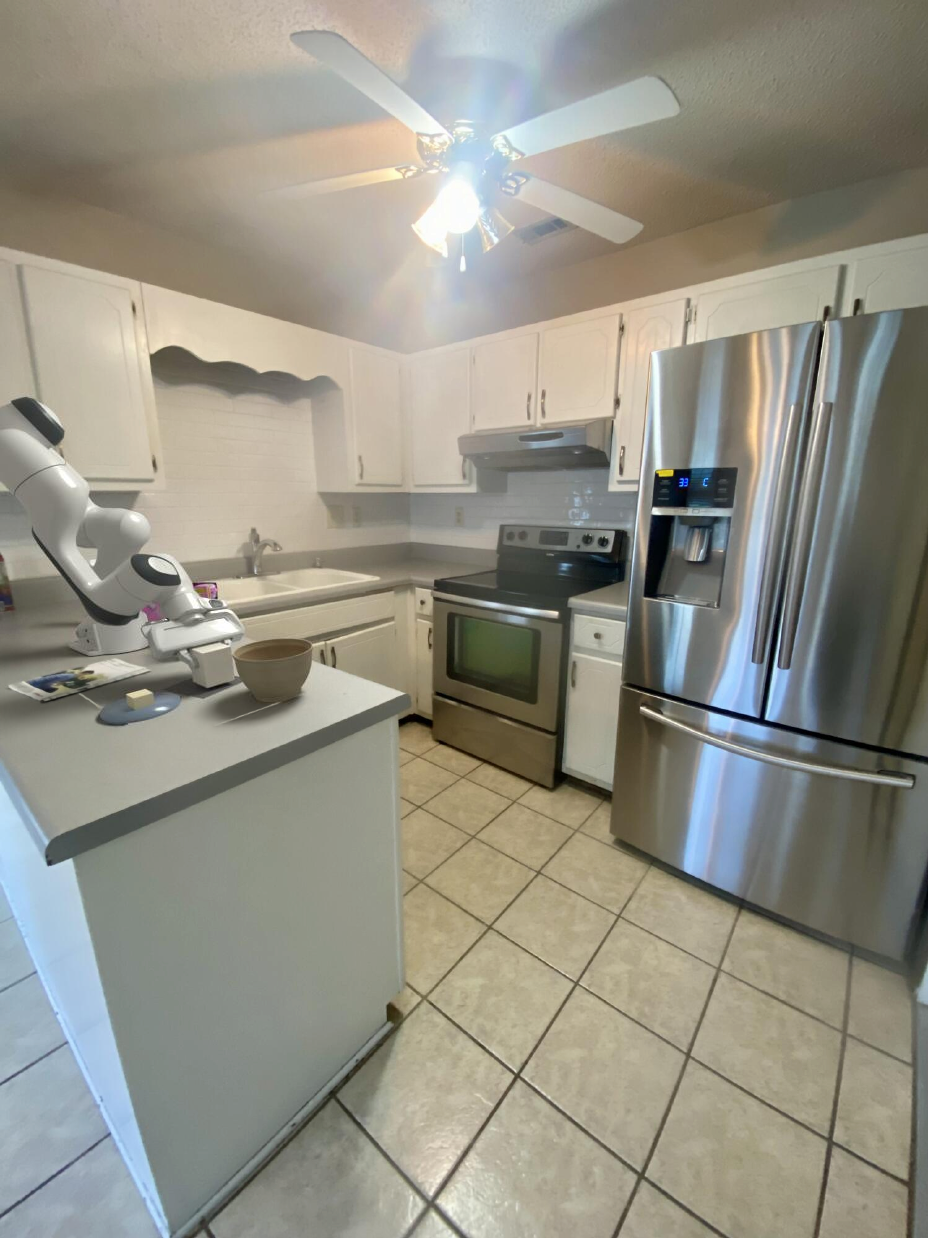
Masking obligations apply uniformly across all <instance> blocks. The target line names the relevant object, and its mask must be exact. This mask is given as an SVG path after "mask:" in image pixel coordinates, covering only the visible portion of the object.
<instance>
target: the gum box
mask: <svg viewBox="0 0 928 1238" xmlns="http://www.w3.org/2000/svg"><path fill="white" fill-rule="evenodd" d="M192 584H193V588H194V590H195V591H196V592H197V593H198V594H199V596H200V597H203V598H208V599H218V600H219V596H218V595H219V593H218V591H219V590H218V584H217V582H215V581H210V582H209V581H207V582H206V581H205V582H204V581H202V582H201V581H200V582H198V581H197V582H192ZM142 612H144V613H145V614H146V616H147V620H148V621H156V620H159V619H164V617H163V615H162V613H161V611H160V606H159V603H158V602H157V601H154V600H153V601H152V602H151V603H150V604H148V605H147V606H146V607H145V608H143V609H142Z"/></svg>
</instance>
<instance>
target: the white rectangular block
mask: <svg viewBox="0 0 928 1238" xmlns="http://www.w3.org/2000/svg"><path fill="white" fill-rule="evenodd" d="M188 649H189V656H190V657H191V658H192V659H195V658H197V660H198V661H197V662H199V667H198V668H196V669H193V670H191V676H192V677H191V678H193V682H195V683H197V684H199V685H202V686H204V687H206V688H209V687H212V686H216V685H219V684H222V683H225V682H229V681H232V680H235V677H234V676H235V669H234V659H233V658H232V653H233V652H232V645H231V646H228V645H225V644H222V643H219V642H217V641H216V642H212V643H208V644H204V645H199V646H195V647H191V648H188Z"/></svg>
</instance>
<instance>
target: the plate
mask: <svg viewBox="0 0 928 1238" xmlns="http://www.w3.org/2000/svg"><path fill="white" fill-rule="evenodd" d="M151 692H152V693H153V697H154V703H155V704H154V705H151V706H147V707H144V708H141V709H137V710H134V709H133V708H131V707H129V706H128V703H127V697H123V698H120V699H117V700H114V701H112V702H110V703H108V704H106V705H105V706H104V707H102V708H101V709H100V711H99V717H100V720H101V721H102V722H103V723H105V724H108V725H115V726H116V725H119V726H120V725H121V726H122V725H124V726H125V725H128V724H130V723H136V722H142V721H146V720H150V719H154V718H158V717H161V716H163V715H166V714H168V713H171V712H172V711H174V710H175V709H177V708H178V707H179V706H180V705H181V702H182V701H181V696H180V695H178V693H175V692H171V691H154V692H153V691H151Z"/></svg>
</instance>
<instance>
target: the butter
mask: <svg viewBox="0 0 928 1238" xmlns="http://www.w3.org/2000/svg"><path fill="white" fill-rule="evenodd" d="M152 692H153V691H151V690H148V689H146V688H143V689H140V690H136V691H133V692H129V693H126V694H125V696H126V697H127V703H128V706H129V707H131V708H133V709H134V710H137V709H141V708H144V707H147V706H151V705H154V704H155V703H154V697H153V693H152Z"/></svg>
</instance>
